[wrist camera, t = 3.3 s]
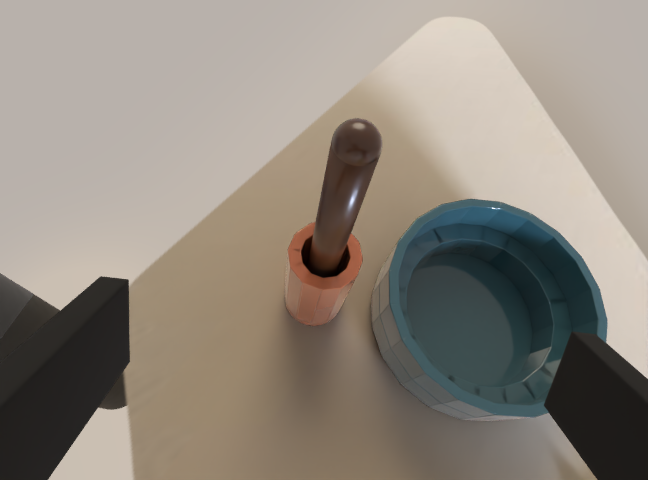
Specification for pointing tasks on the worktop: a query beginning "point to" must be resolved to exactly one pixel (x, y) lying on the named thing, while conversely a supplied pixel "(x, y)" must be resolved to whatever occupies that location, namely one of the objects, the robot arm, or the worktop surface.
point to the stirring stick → (343, 192)
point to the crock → (318, 280)
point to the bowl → (482, 309)
